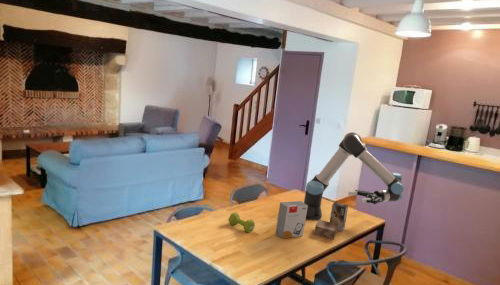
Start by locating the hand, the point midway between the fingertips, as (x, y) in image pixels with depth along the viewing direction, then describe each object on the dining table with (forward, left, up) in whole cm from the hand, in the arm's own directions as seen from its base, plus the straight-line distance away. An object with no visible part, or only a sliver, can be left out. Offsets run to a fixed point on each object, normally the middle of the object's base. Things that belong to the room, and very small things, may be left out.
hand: (355, 197), depth 231 cm
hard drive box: (-30, -37, -21) cm, 52 cm away
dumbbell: (-58, -47, -21) cm, 78 cm away
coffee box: (-7, -7, -21) cm, 24 cm away
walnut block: (-12, -21, -21) cm, 32 cm away
